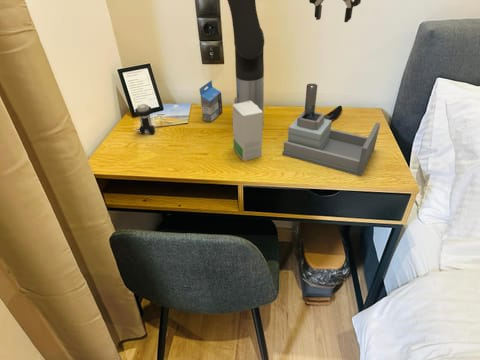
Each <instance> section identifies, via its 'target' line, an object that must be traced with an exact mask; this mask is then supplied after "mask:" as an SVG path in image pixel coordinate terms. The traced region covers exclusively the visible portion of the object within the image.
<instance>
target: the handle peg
mask: <svg viewBox="0 0 480 360" xmlns="http://www.w3.org/2000/svg"><path fill="white" fill-rule="evenodd" d="M317 92H318V84H316V83H308V84H306V90H305V100H304V101H305V102H304V110H305V111H304V110H303V111H304V119H309V120H313V121H314V114H315V112H316V105H317V104H316V103H317V94H318V93H317Z"/></svg>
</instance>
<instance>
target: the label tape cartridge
mask: <svg viewBox="0 0 480 360" xmlns="http://www.w3.org/2000/svg"><path fill="white" fill-rule="evenodd" d="M199 93H200V94H199V95H200V104H201V114H202V115H201V116H202V121H203V122H209V123H212V122H214V121H215V120H216V118H218V117H219V116H220V115H221V114H222V113H223V102H222V101H223V100H222V99H223V98H222V92H221V91H220V90H219V89H216V88H215V87H214V86H213V80H210V81H208V82H207V83H206V84H204V85H203V86H201V87H200V88H199Z"/></svg>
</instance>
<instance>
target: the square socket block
mask: <svg viewBox="0 0 480 360" xmlns="http://www.w3.org/2000/svg"><path fill="white" fill-rule="evenodd" d="M304 111H305V109H304V110H303V111H302V113H301V114H299V115H298V116H297V118H296V119H294V121H293V122H292V123H291V124H290V125H289V127H288V132H287V142H291V143H295V144H299V145H303V146H307V147H311V148H315V149H318V150H322V149H323V148H324V146H325V145H326V143H327V142H328V141H329V136H330V129H332V121H333V120H328V119H325V115H326V114H323V113H322V112H317V111H315V114H314V121H313V120H309V119H304Z"/></svg>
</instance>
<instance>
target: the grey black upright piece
mask: <svg viewBox="0 0 480 360" xmlns="http://www.w3.org/2000/svg"><path fill="white" fill-rule="evenodd" d="M134 112H135V114H136V115H137V116H138V118H139V121H140V127H139V128H136V129H135V130H136V133H140V134H141V135H145V136H146V135H147V136H148V135H151V136H153V135H155V133H156V128H155V125H154V124H153V123H152V118H151V114H152V107H151V106H149V105H148V104H139V105H137V107H136V108H135V109H134Z"/></svg>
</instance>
